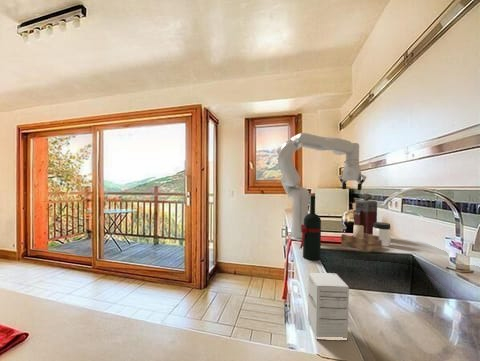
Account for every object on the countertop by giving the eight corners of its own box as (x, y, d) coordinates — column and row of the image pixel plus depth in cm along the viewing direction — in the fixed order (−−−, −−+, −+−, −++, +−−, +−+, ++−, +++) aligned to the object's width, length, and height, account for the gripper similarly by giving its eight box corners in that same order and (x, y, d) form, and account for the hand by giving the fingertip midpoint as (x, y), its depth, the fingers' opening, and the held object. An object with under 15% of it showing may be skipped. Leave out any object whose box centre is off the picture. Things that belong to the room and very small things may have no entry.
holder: (341, 244, 129) (341, 234, 129) (354, 241, 137) (354, 231, 137) (369, 252, 117) (369, 240, 116) (381, 247, 125) (381, 236, 125)
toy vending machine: (351, 236, 150) (352, 193, 150) (364, 234, 154) (365, 192, 154) (364, 239, 142) (365, 194, 141) (376, 237, 146) (377, 193, 146)
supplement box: (307, 320, 59) (307, 271, 59) (336, 321, 59) (337, 272, 59) (315, 340, 52) (316, 285, 52) (348, 342, 52) (350, 286, 52)
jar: (387, 247, 125) (388, 225, 125) (371, 244, 131) (371, 223, 131) (391, 244, 131) (392, 223, 131) (375, 241, 137) (376, 221, 137)
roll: (351, 245, 129) (351, 225, 128) (356, 243, 132) (356, 224, 131) (360, 247, 125) (360, 226, 124) (365, 245, 127) (365, 225, 127)
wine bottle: (295, 256, 109) (296, 192, 108) (313, 254, 112) (314, 192, 112) (304, 262, 101) (306, 193, 101) (324, 259, 104) (325, 193, 104)
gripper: (336, 163, 150) (335, 189, 150) (363, 161, 136) (362, 190, 136) (342, 163, 155) (342, 189, 155) (369, 162, 141) (368, 190, 141)
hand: (351, 189), depth 146 cm, fingers open, 9 cm apart
